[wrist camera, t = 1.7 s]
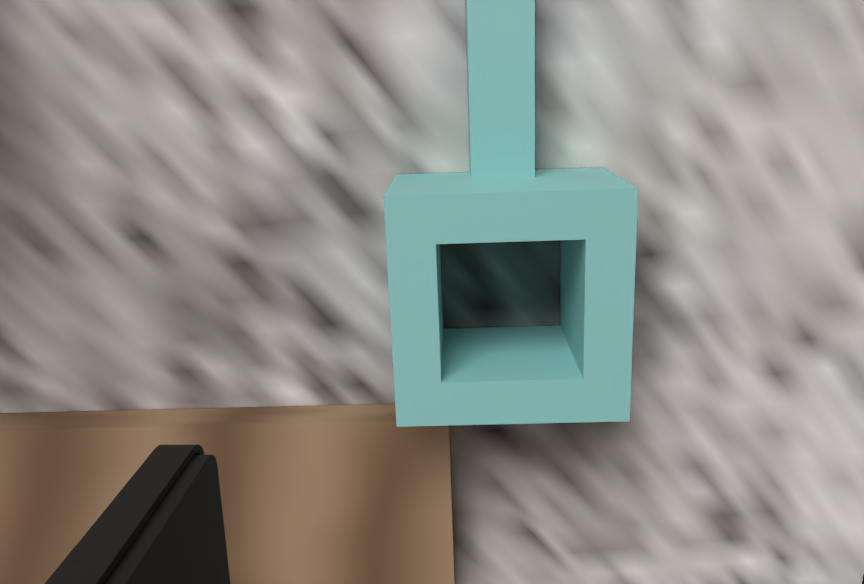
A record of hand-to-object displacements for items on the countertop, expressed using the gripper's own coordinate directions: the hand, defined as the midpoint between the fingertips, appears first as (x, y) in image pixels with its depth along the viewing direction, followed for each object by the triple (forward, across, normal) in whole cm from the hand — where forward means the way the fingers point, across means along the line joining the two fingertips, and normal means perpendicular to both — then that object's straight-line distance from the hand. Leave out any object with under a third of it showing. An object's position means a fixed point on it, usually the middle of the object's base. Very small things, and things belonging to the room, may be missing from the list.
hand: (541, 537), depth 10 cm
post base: (+16, +10, +14) cm, 24 cm away
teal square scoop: (+16, 0, -3) cm, 17 cm away
